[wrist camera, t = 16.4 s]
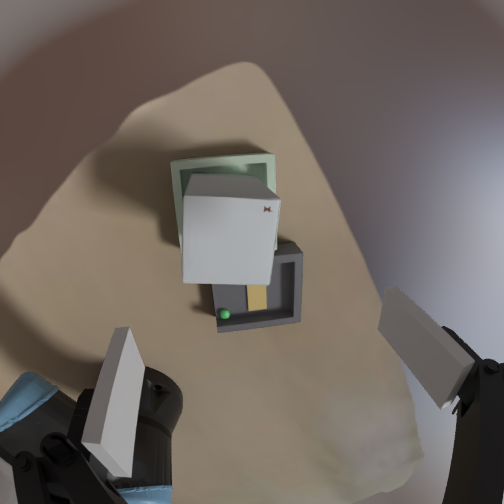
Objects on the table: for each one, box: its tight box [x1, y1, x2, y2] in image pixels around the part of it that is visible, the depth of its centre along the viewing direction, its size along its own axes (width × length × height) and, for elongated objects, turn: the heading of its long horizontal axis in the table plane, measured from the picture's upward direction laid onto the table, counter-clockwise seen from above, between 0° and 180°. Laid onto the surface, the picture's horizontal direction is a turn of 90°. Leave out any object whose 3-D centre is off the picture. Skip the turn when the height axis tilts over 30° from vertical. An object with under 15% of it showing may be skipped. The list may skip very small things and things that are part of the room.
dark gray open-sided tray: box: [212, 242, 303, 333], centre depth 37 cm, size 11×10×4 cm
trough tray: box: [170, 152, 277, 255], centre depth 33 cm, size 11×11×3 cm
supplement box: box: [182, 172, 281, 286], centre depth 28 cm, size 7×7×13 cm
